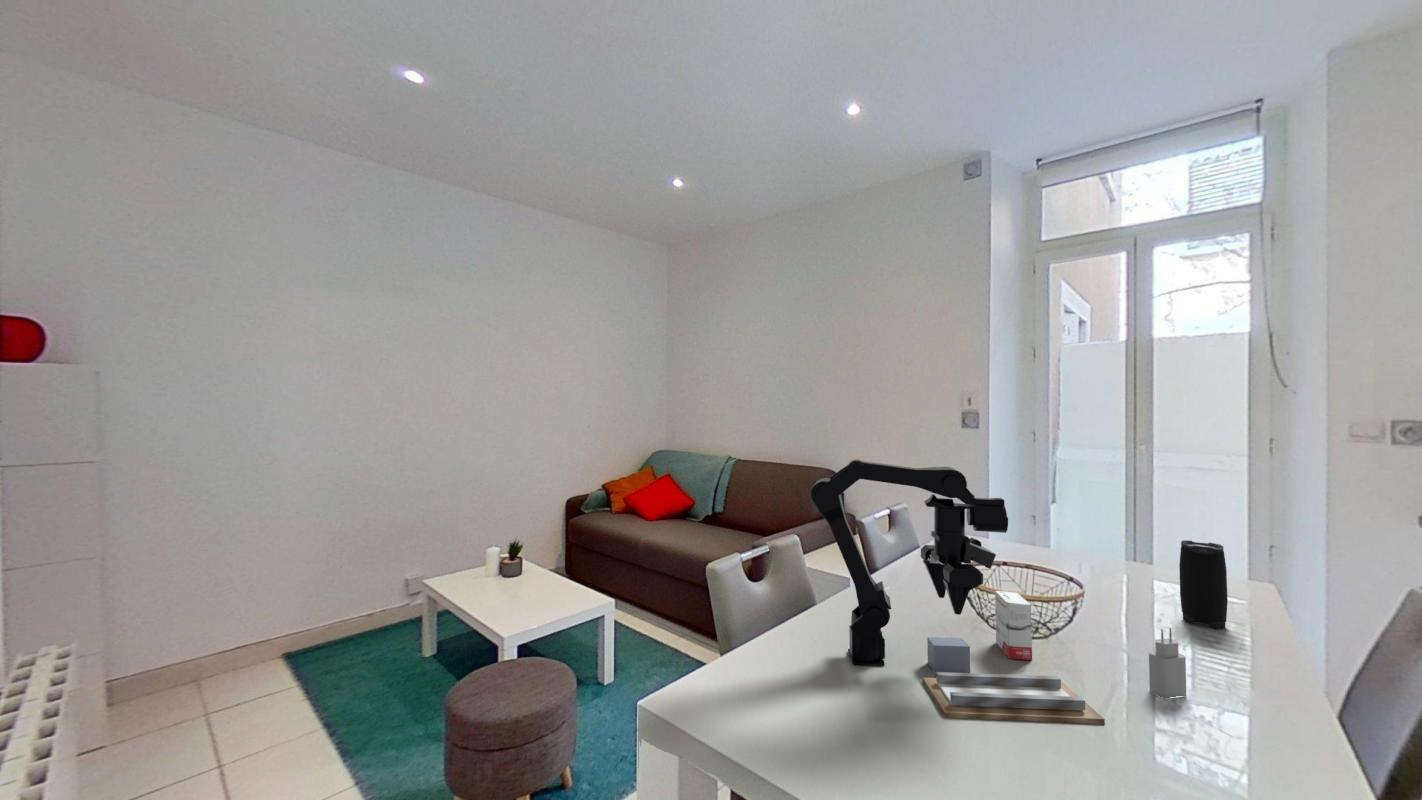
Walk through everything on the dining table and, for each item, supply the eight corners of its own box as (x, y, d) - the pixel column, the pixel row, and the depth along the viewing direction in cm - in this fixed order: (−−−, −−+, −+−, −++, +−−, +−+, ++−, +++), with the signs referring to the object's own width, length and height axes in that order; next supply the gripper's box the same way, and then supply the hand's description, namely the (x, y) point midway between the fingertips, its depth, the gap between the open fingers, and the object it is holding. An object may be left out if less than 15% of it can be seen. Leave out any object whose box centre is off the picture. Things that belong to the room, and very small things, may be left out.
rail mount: (944, 717, 91) (944, 700, 91) (922, 681, 103) (922, 667, 103) (1104, 723, 89) (1104, 706, 89) (1063, 686, 101) (1062, 671, 101)
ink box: (1033, 661, 111) (1032, 604, 111) (1008, 659, 112) (1007, 603, 112) (1018, 643, 119) (1017, 591, 120) (994, 641, 120) (994, 589, 121)
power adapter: (1188, 696, 97) (1187, 630, 97) (1164, 699, 96) (1162, 632, 96) (1171, 687, 100) (1169, 623, 100) (1147, 690, 99) (1145, 626, 99)
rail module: (934, 672, 106) (933, 645, 107) (927, 663, 110) (927, 636, 110) (971, 674, 106) (970, 646, 106) (963, 664, 110) (962, 638, 110)
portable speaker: (1225, 622, 131) (1223, 542, 132) (1230, 634, 124) (1228, 550, 124) (1179, 613, 137) (1178, 537, 137) (1181, 624, 129) (1179, 544, 130)
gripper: (1012, 541, 98) (1012, 625, 98) (971, 520, 117) (971, 591, 117) (950, 539, 99) (950, 623, 99) (920, 519, 118) (919, 589, 118)
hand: (949, 605), depth 108 cm, fingers open, 9 cm apart
